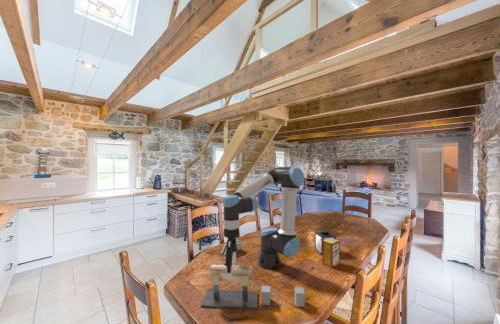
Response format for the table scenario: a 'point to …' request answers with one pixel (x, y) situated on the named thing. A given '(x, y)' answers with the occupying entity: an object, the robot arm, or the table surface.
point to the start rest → (298, 296)
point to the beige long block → (236, 272)
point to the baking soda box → (331, 252)
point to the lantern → (322, 238)
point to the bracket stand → (230, 295)
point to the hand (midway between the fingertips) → (231, 271)
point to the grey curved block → (239, 247)
